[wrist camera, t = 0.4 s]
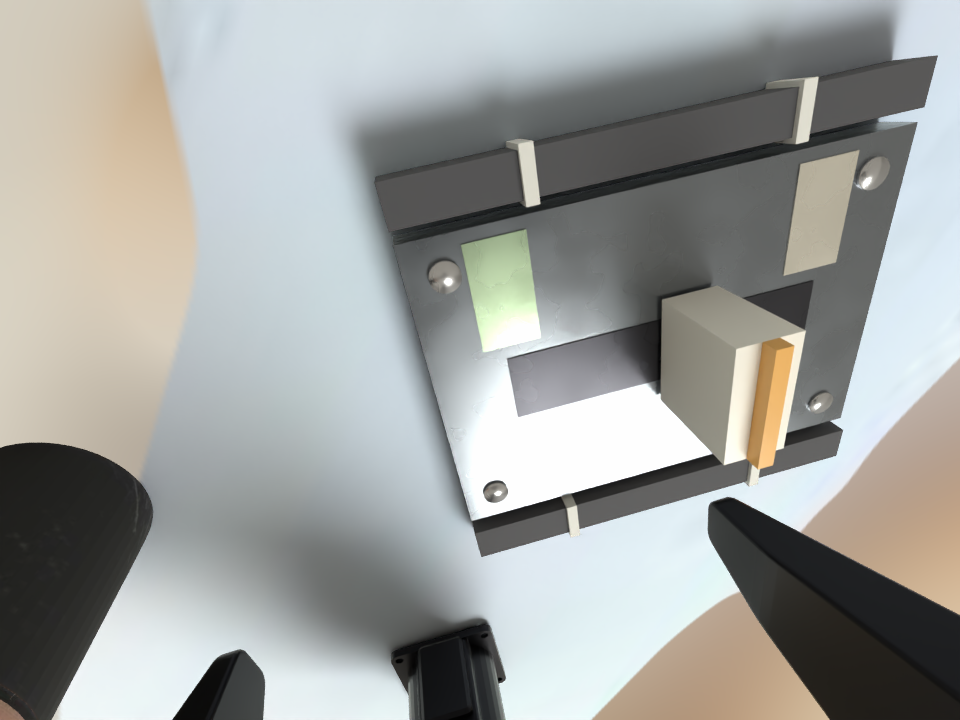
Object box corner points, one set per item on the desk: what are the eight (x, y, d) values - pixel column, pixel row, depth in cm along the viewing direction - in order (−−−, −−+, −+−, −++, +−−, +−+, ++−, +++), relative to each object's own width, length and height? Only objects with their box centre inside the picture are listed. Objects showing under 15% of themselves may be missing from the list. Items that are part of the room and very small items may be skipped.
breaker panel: (817, 402, 25) (843, 419, 24) (467, 499, 24) (471, 523, 22) (879, 121, 18) (921, 122, 17) (392, 236, 17) (392, 246, 16)
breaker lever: (709, 386, 21) (795, 458, 17) (660, 399, 21) (734, 476, 16) (717, 285, 18) (821, 338, 14) (661, 299, 18) (749, 357, 14)
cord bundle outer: (881, 113, 18) (928, 113, 17) (390, 227, 17) (390, 239, 15) (894, 54, 17) (945, 47, 16) (374, 170, 16) (372, 176, 14)
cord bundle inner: (808, 438, 26) (838, 460, 25) (476, 531, 25) (482, 562, 23) (815, 408, 25) (847, 429, 24) (468, 504, 24) (474, 534, 22)
